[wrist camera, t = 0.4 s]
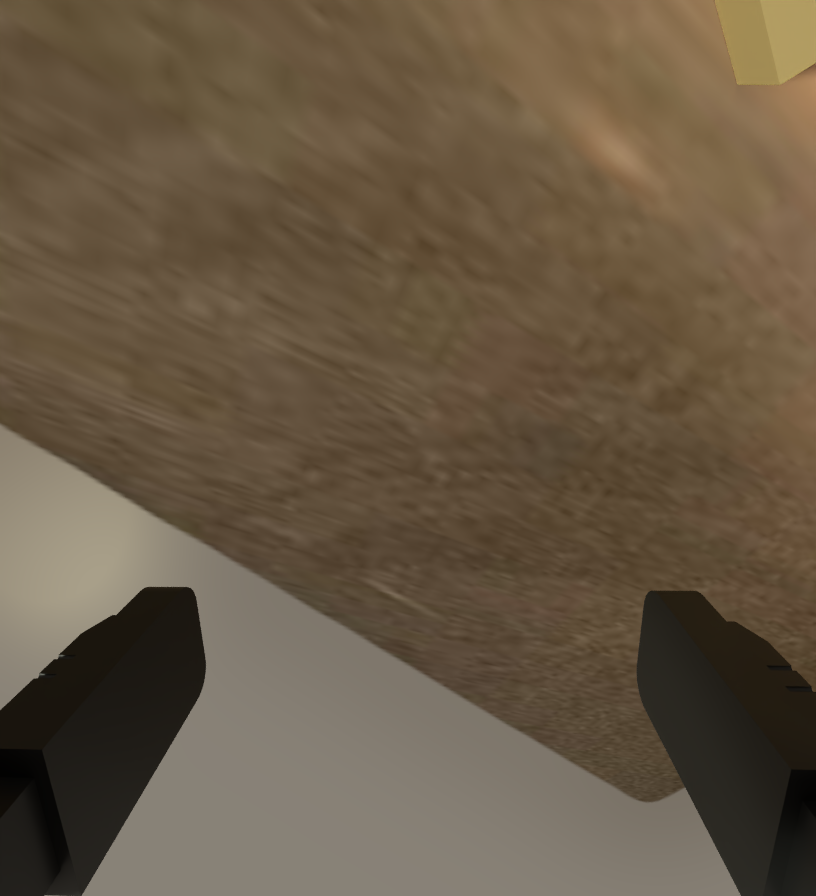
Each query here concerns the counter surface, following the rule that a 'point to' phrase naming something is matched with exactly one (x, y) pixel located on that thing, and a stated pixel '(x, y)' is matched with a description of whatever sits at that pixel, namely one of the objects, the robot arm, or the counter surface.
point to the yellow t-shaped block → (768, 38)
